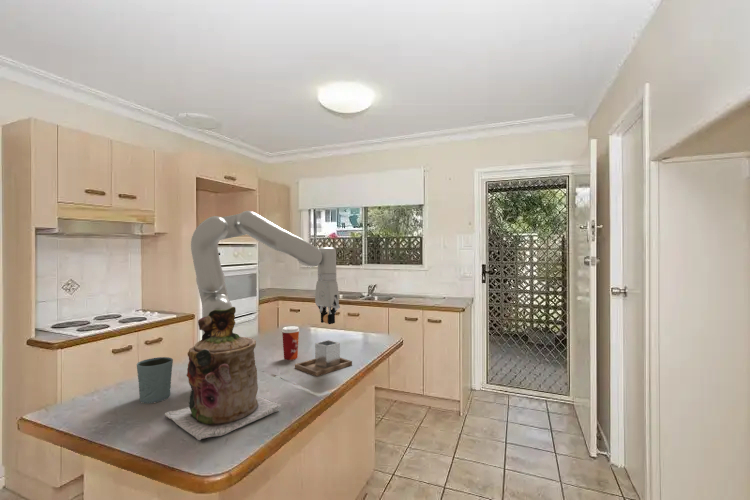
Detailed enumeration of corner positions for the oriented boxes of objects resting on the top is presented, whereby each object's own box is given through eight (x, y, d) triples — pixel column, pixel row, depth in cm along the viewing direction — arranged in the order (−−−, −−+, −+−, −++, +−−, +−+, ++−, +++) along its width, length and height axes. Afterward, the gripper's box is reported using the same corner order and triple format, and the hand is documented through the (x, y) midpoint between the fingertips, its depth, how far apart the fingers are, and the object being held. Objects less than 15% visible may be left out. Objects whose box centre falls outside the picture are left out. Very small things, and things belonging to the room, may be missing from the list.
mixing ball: (327, 324, 147) (327, 315, 147) (321, 323, 149) (321, 314, 149) (334, 323, 150) (334, 314, 150) (328, 322, 152) (328, 312, 152)
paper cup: (297, 362, 156) (297, 329, 156) (279, 362, 156) (279, 329, 156) (301, 357, 164) (301, 325, 164) (284, 357, 164) (284, 325, 164)
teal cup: (132, 406, 114) (131, 367, 114) (143, 393, 124) (142, 358, 124) (168, 402, 117) (168, 364, 117) (176, 390, 127) (176, 355, 127)
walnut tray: (316, 379, 137) (316, 372, 137) (294, 370, 146) (294, 364, 146) (352, 367, 150) (352, 361, 150) (329, 360, 159) (329, 354, 159)
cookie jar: (239, 391, 126) (238, 297, 125) (284, 411, 110) (283, 304, 110) (161, 417, 107) (160, 307, 106) (202, 446, 91) (200, 317, 91)
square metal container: (326, 369, 145) (326, 346, 145) (315, 365, 149) (315, 343, 149) (339, 365, 150) (339, 342, 150) (328, 361, 154) (328, 340, 154)
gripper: (307, 277, 152) (307, 321, 152) (333, 279, 141) (334, 327, 141) (321, 276, 158) (322, 318, 158) (347, 278, 146) (348, 324, 147)
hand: (327, 322), depth 149 cm, fingers closed on mixing ball, 3 cm apart
